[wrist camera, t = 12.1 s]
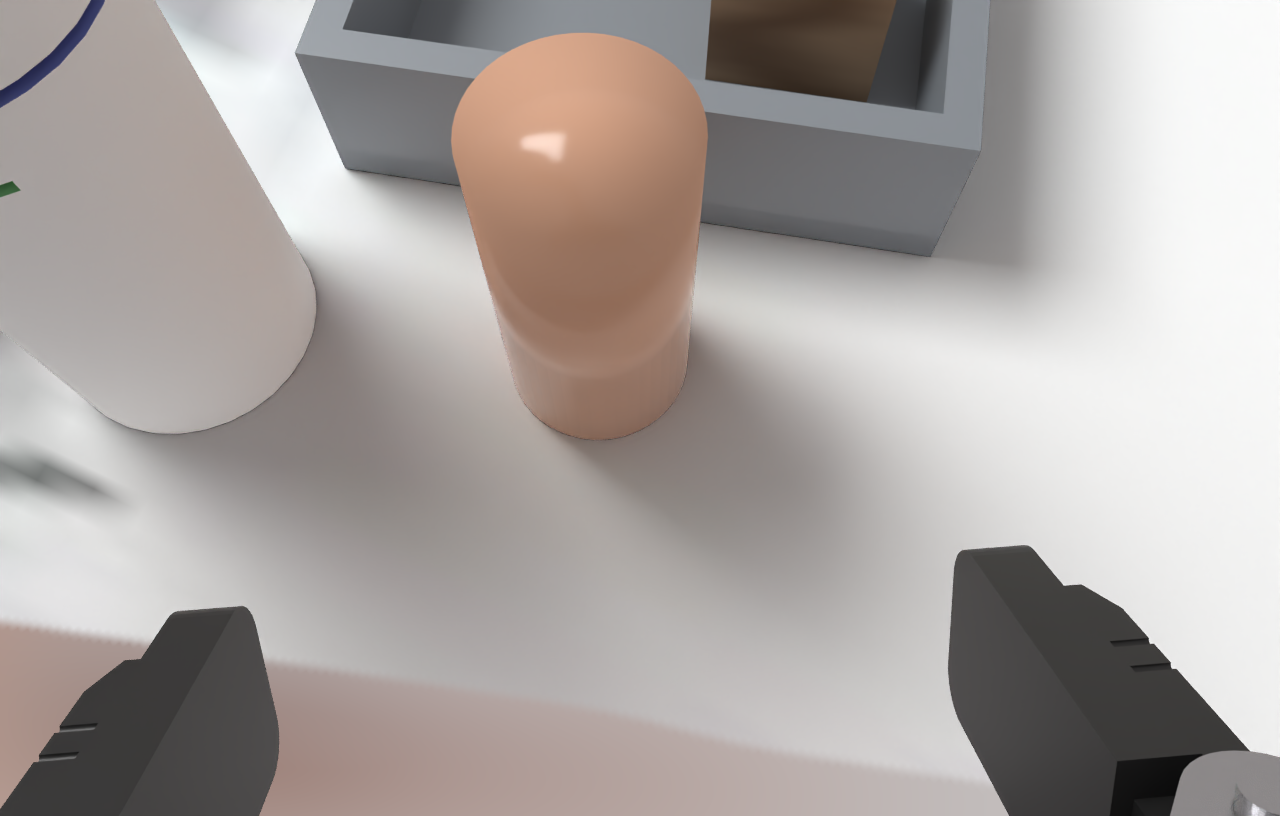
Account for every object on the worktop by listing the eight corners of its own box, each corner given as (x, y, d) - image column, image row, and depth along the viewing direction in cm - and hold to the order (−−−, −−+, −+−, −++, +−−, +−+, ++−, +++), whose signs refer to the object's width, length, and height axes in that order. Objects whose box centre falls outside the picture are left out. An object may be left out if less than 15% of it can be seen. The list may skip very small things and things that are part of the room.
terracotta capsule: (493, 423, 29) (422, 219, 19) (532, 269, 30) (485, 18, 21) (671, 453, 28) (685, 259, 19) (700, 295, 30) (725, 51, 21)
